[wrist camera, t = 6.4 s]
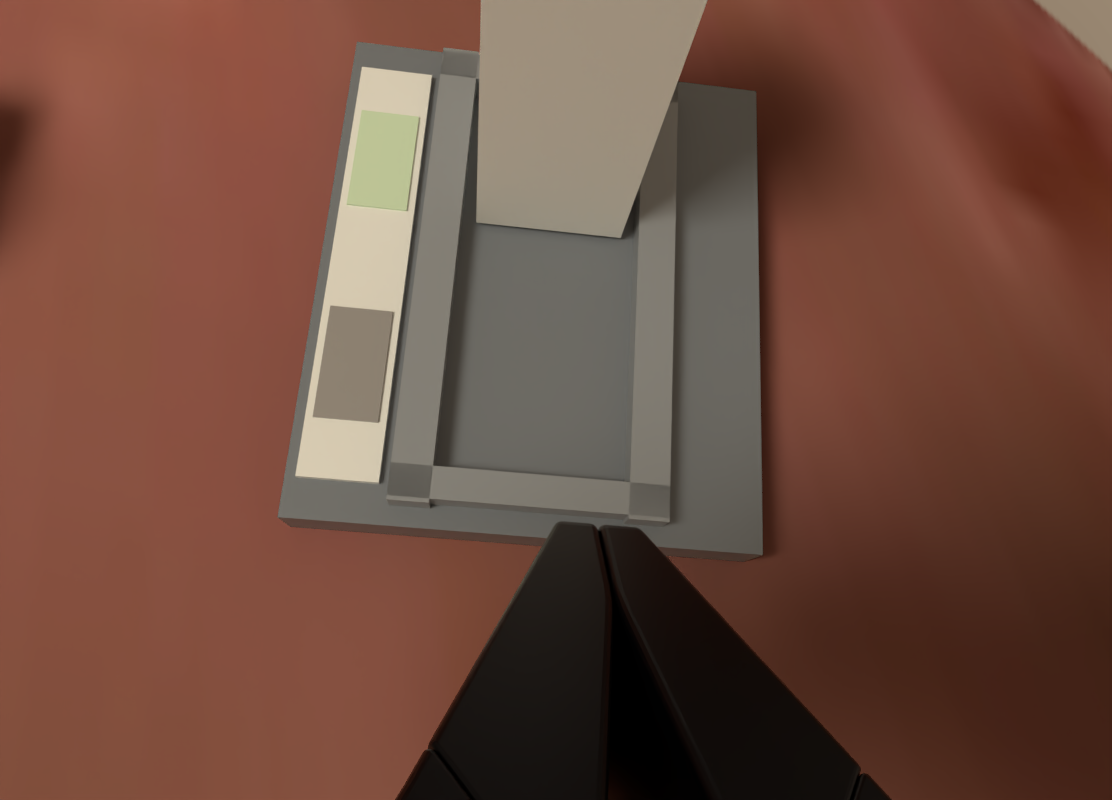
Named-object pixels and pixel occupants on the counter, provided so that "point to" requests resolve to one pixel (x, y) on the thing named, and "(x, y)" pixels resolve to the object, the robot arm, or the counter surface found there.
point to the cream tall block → (574, 107)
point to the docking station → (530, 335)
